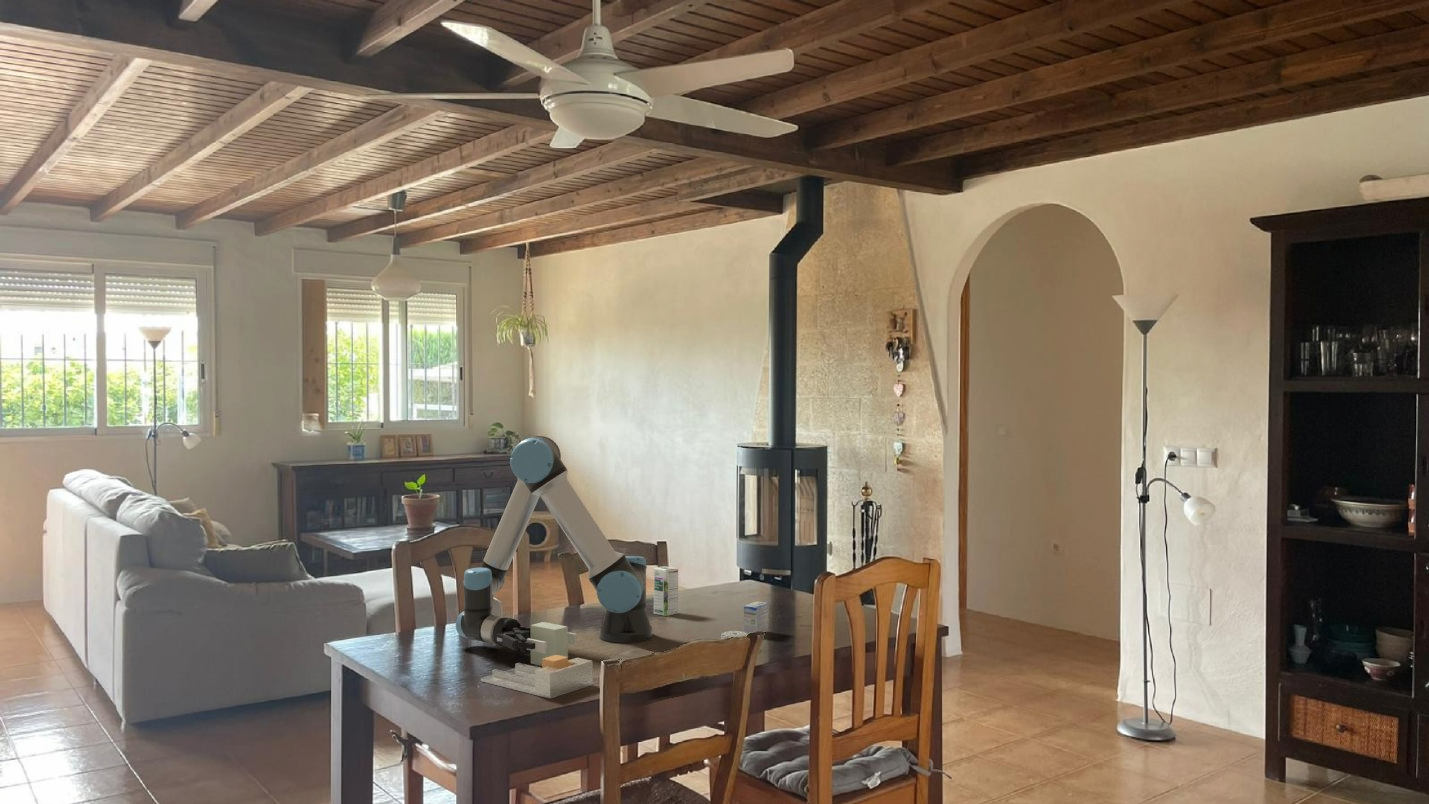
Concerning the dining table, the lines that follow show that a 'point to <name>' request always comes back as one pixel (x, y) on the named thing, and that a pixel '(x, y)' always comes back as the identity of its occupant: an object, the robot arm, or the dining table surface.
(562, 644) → the block
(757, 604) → the medicine box
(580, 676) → the rail plate
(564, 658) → the orange rectangular block
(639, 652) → the washcloth
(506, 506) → the robot arm
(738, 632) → the mechanical component
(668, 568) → the syrup box
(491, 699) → the dining table surface
